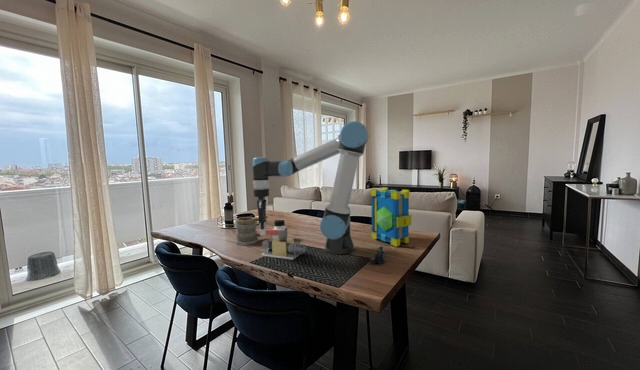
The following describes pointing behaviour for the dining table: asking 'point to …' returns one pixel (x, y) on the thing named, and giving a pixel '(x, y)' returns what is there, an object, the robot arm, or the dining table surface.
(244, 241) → the tankard
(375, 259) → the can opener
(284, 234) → the lever
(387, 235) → the decorative book
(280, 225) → the medicine bottle
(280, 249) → the valve
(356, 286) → the dining table surface
